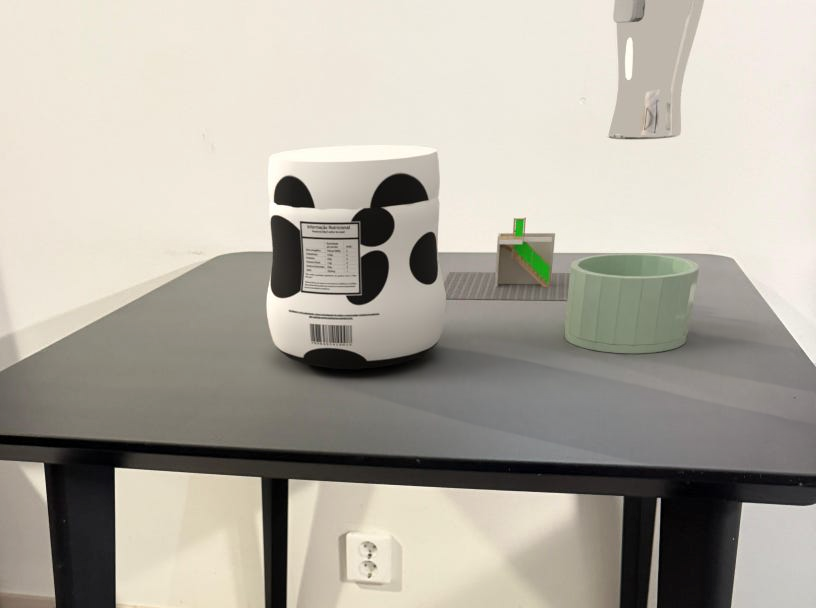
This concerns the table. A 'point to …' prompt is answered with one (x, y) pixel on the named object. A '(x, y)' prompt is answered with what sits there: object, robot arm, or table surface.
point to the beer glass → (653, 69)
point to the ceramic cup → (630, 302)
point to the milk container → (355, 255)
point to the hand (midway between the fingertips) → (657, 21)
